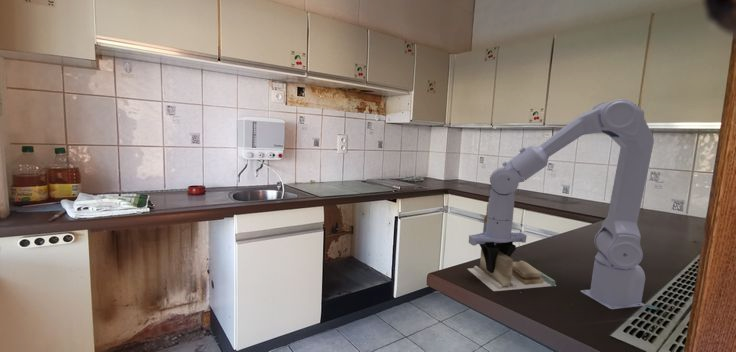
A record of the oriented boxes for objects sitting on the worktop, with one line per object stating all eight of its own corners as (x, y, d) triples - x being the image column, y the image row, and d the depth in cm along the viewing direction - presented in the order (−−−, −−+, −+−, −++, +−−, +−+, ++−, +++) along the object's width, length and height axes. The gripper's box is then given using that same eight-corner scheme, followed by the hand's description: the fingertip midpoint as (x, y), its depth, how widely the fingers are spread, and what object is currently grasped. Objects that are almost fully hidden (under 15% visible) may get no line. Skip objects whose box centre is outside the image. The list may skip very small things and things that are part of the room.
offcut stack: (519, 267, 89) (520, 258, 89) (544, 283, 81) (545, 273, 80) (501, 268, 88) (502, 260, 88) (524, 284, 80) (525, 275, 79)
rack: (522, 266, 91) (523, 260, 91) (556, 287, 80) (557, 280, 80) (466, 270, 88) (467, 264, 87) (493, 293, 76) (494, 286, 76)
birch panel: (486, 267, 88) (488, 244, 87) (510, 285, 78) (513, 259, 77) (479, 268, 87) (481, 244, 86) (502, 286, 78) (505, 259, 77)
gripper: (515, 212, 86) (510, 262, 88) (464, 214, 82) (460, 265, 85) (534, 220, 79) (528, 274, 81) (479, 222, 76) (474, 278, 78)
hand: (494, 270), depth 82 cm, fingers closed on birch panel, 2 cm apart
